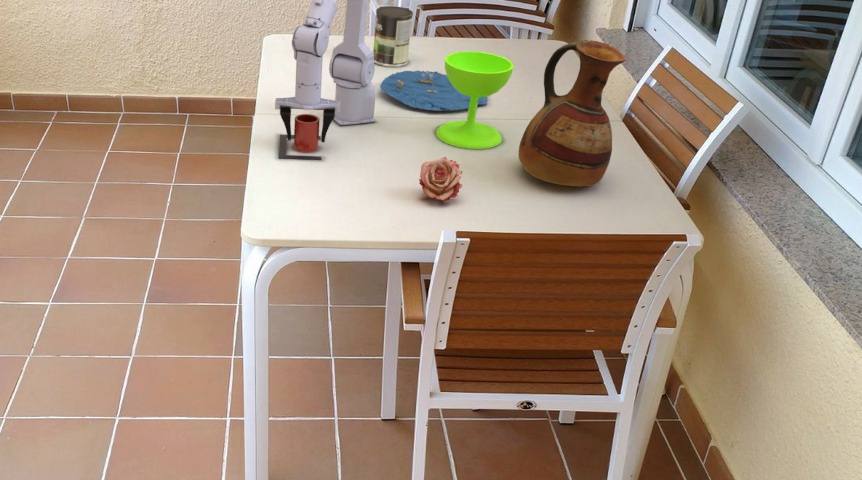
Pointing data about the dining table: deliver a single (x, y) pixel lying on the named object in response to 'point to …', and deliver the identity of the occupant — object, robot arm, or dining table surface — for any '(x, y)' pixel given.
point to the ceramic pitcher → (572, 121)
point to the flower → (440, 179)
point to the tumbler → (306, 133)
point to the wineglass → (474, 96)
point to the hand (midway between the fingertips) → (306, 139)
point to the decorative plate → (426, 91)
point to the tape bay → (283, 155)
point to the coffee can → (392, 36)
